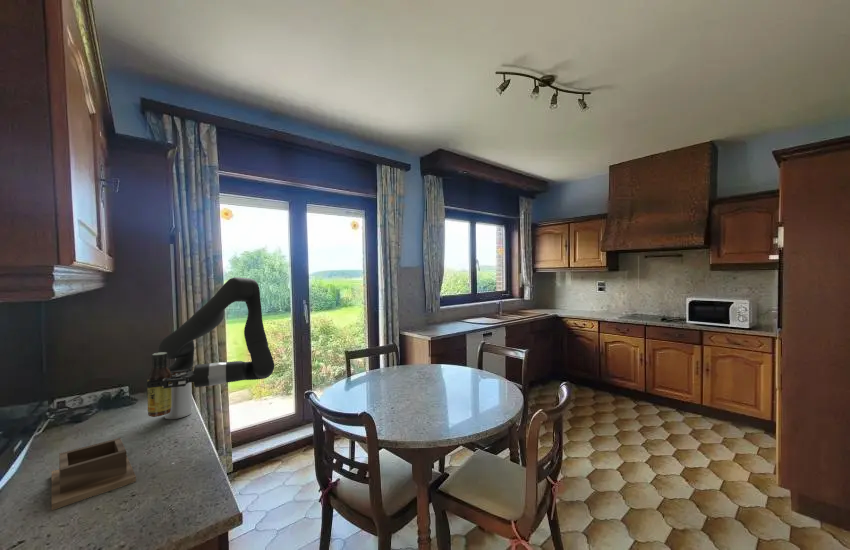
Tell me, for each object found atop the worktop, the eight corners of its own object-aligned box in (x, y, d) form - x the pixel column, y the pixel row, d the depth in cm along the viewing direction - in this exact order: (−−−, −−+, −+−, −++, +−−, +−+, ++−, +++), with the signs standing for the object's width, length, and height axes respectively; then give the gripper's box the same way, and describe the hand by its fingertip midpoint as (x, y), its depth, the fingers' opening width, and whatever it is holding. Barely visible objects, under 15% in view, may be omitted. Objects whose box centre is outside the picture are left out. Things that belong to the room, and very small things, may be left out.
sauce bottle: (146, 414, 113) (145, 353, 113) (169, 409, 117) (168, 350, 118) (149, 419, 108) (148, 356, 109) (174, 413, 113) (173, 352, 113)
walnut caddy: (51, 476, 100) (51, 450, 100) (124, 455, 112) (124, 431, 112) (51, 510, 85) (51, 479, 85) (136, 481, 97) (135, 454, 97)
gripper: (212, 359, 126) (155, 365, 118) (208, 368, 113) (144, 375, 105) (213, 379, 126) (155, 387, 118) (209, 391, 113) (144, 400, 105)
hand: (150, 381), depth 112 cm, fingers closed on sauce bottle, 6 cm apart
